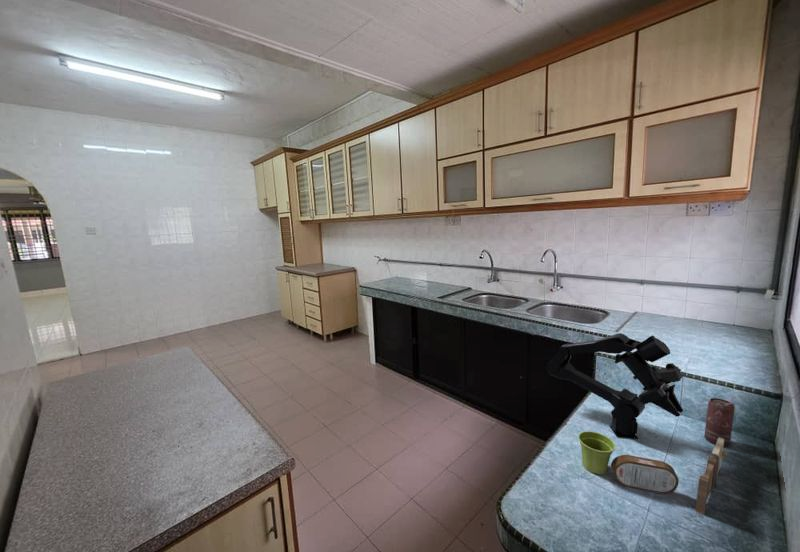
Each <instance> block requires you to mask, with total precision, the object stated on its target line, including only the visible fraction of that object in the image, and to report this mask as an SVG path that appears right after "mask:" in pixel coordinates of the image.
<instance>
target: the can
mask: <svg viewBox="0 0 800 552" xmlns="http://www.w3.org/2000/svg"><path fill="white" fill-rule="evenodd" d="M735 408H736V407H735V404H734V403H732V402H730V401H728V400H725V399H722V398H718V397H717V398H715V397H712V398H709V400H708V404H707V411H706V420H705V428H704V437H703V438H705V440H706V441H707V442H708V443H710V444H712V445H714V446H715V444H716V442H717V440H718V438H719V437H720V438H723V439H724V447H723V448H727V447H729V446H730V445H731V440H732V430H733V424H734V416H735Z"/></svg>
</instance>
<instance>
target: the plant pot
mask: <svg viewBox="0 0 800 552" xmlns="http://www.w3.org/2000/svg"><path fill="white" fill-rule="evenodd" d="M577 438H578V441H579V444H580V448H581V449H580V450H581V461H582V466H583V468H584V469H586V470H587V471H589V472H590V473H594V474H598V475H604V474H605V473H606V472H607V470H608V467H609V463H610V459H611V455H612V453H614V451H615V449H616V444H615V442H614V440H612V439H611V438H609V437H608V436H606V435H605V434H603V433H600V432H596V431H591V430H588V431H587V430H585V431H582V432H579V433H578V436H577Z"/></svg>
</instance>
